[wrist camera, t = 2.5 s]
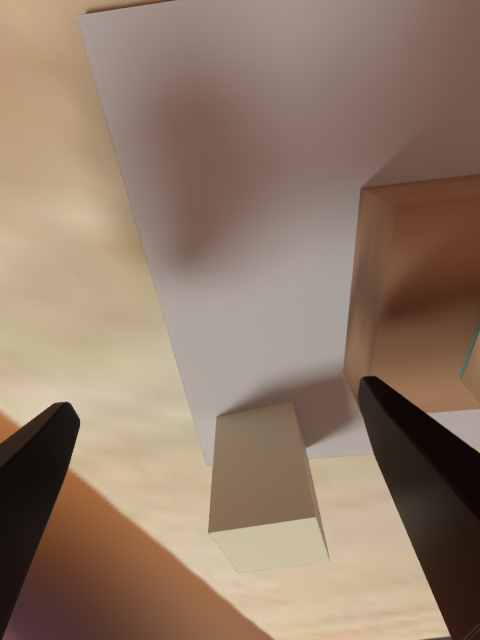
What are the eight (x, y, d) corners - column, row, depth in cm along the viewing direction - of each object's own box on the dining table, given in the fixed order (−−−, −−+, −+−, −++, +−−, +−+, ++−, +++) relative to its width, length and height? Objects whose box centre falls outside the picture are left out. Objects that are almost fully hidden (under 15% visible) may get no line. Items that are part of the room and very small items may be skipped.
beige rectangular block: (305, 448, 19) (330, 561, 14) (238, 460, 20) (238, 573, 15) (292, 401, 17) (315, 517, 12) (216, 416, 18) (208, 533, 13)
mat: (610, 431, 19) (616, 436, 19) (207, 460, 21) (206, 466, 20) (1088, -135, 8) (1128, -148, 7) (81, 19, 9) (75, 15, 9)
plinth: (515, 351, 16) (577, 401, 13) (340, 366, 16) (363, 418, 13) (609, 156, 11) (741, 166, 8) (356, 186, 11) (397, 205, 9)
